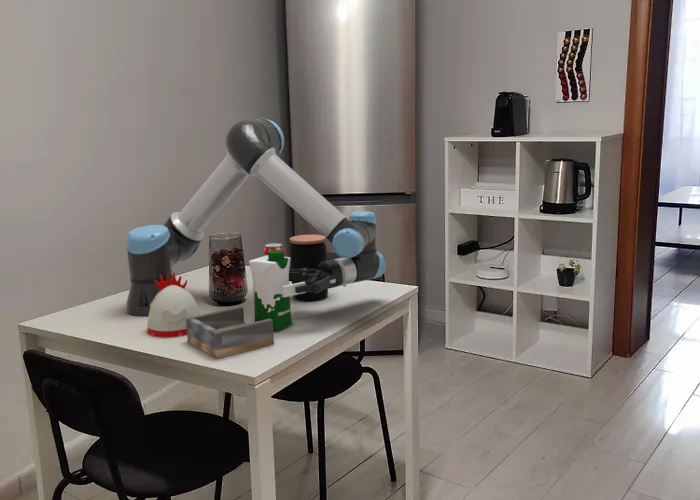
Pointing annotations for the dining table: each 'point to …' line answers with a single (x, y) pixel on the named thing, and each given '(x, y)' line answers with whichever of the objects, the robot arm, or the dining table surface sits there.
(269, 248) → the soda can
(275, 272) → the soya milk
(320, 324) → the dining table surface
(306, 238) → the coffee jar
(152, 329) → the kitchen timer
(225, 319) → the dock
